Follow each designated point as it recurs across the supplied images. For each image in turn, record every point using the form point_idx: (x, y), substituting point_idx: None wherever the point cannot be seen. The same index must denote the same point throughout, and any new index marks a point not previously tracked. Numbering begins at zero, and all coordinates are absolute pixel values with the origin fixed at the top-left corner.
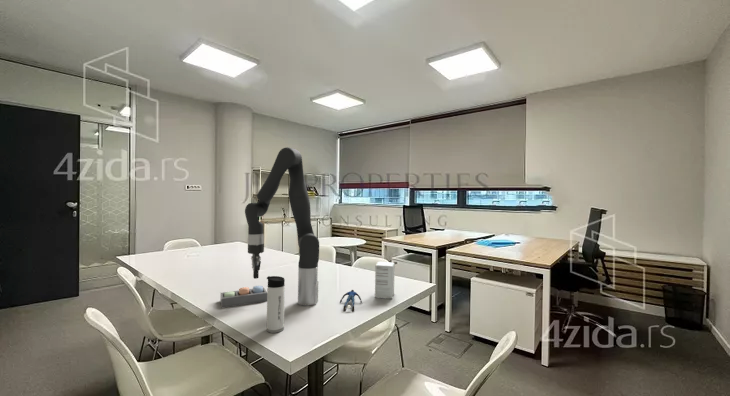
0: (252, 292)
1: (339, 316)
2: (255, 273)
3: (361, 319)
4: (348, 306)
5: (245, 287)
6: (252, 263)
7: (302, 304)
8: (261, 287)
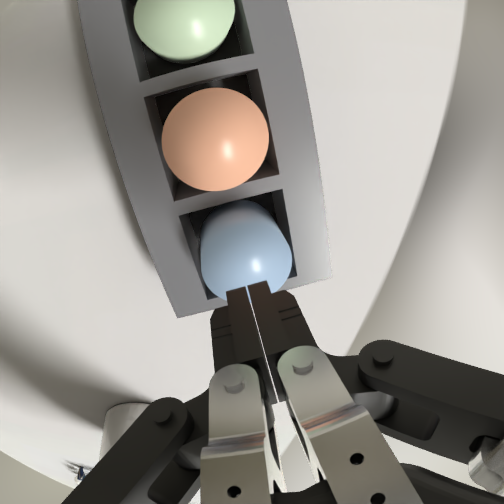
0: (279, 193)
1: (41, 452)
2: (215, 359)
3: (39, 469)
4: (75, 481)
5: (260, 148)
6: (256, 497)
7: (106, 414)
8: (223, 296)
